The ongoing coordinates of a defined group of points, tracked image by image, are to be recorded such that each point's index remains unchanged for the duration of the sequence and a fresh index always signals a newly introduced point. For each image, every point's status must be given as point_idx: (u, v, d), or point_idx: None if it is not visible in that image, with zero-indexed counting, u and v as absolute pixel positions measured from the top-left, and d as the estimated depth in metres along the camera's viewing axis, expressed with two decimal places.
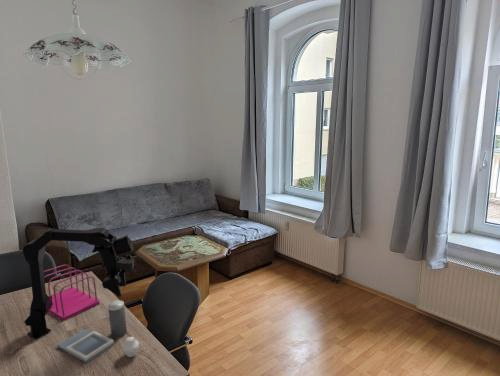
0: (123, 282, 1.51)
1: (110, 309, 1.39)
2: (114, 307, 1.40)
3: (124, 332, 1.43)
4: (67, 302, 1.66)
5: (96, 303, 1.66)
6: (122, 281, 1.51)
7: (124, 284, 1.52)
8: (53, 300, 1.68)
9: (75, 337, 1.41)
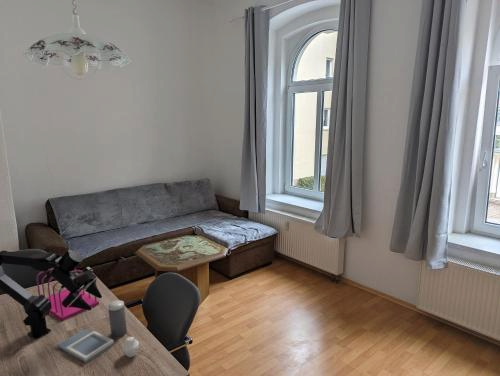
0: (98, 294, 1.46)
1: (110, 309, 1.39)
2: (114, 307, 1.40)
3: (124, 332, 1.43)
4: None
5: (95, 303, 1.66)
6: (96, 294, 1.46)
7: (100, 296, 1.46)
8: (53, 300, 1.69)
9: (75, 337, 1.41)
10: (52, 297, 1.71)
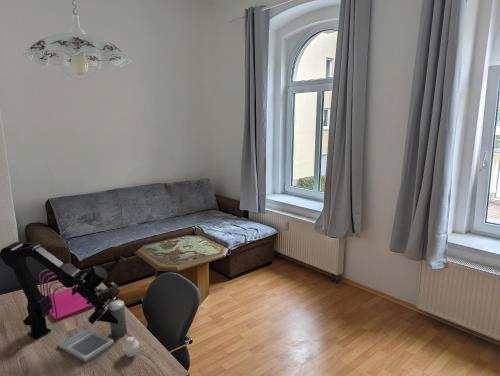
0: None
1: (110, 309, 1.39)
2: (114, 307, 1.40)
3: (124, 332, 1.43)
4: (65, 302, 1.66)
5: (92, 306, 1.64)
6: None
7: None
8: None
9: (75, 337, 1.41)
10: (54, 296, 1.73)
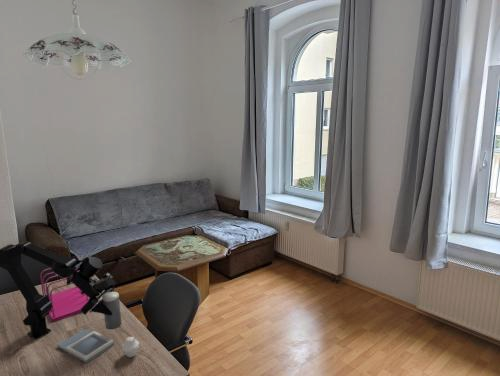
0: None
1: (104, 300, 1.37)
2: (108, 298, 1.37)
3: (118, 324, 1.40)
4: (64, 302, 1.66)
5: None
6: None
7: None
8: (54, 298, 1.70)
9: (75, 337, 1.41)
10: (55, 295, 1.73)
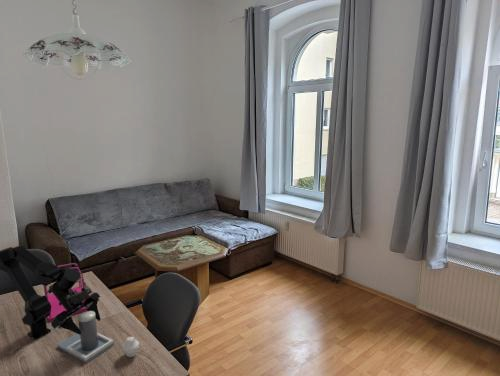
0: (96, 316, 1.37)
1: (78, 320, 1.31)
2: (82, 318, 1.30)
3: (93, 346, 1.33)
4: None
5: (87, 308, 1.62)
6: (95, 315, 1.37)
7: (98, 318, 1.37)
8: (55, 297, 1.71)
9: (75, 337, 1.41)
10: None
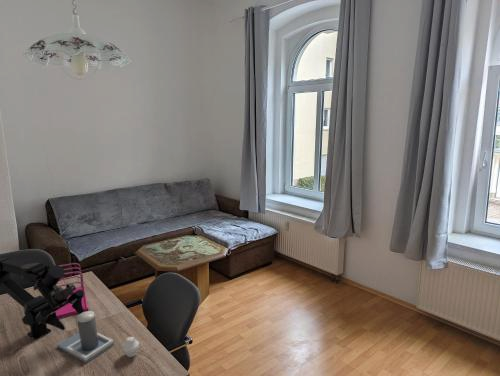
0: (81, 312, 1.40)
1: (77, 320, 1.30)
2: (81, 319, 1.30)
3: (93, 346, 1.33)
4: None
5: (84, 310, 1.61)
6: (80, 312, 1.40)
7: None
8: None
9: (75, 337, 1.41)
10: None
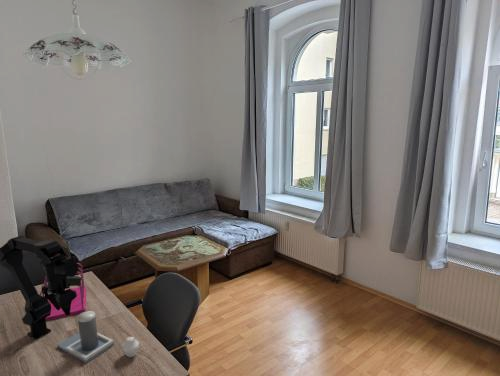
0: (58, 305, 1.39)
1: (78, 320, 1.30)
2: (82, 319, 1.30)
3: (93, 346, 1.33)
4: None
5: (81, 311, 1.60)
6: (57, 304, 1.39)
7: (59, 307, 1.39)
8: None
9: (75, 337, 1.41)
10: None
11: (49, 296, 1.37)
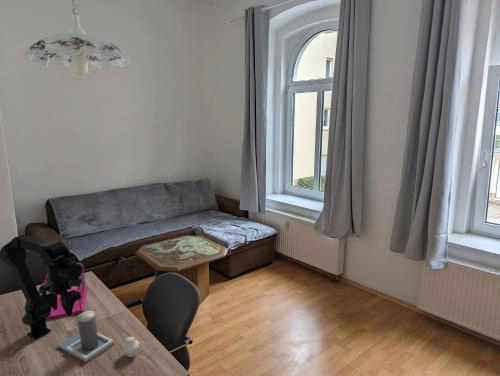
0: (55, 305, 1.38)
1: (78, 320, 1.31)
2: (82, 318, 1.30)
3: (93, 346, 1.33)
4: None
5: (79, 312, 1.59)
6: (54, 304, 1.38)
7: (56, 307, 1.39)
8: (58, 296, 1.73)
9: (75, 337, 1.41)
10: None
11: (47, 296, 1.36)
